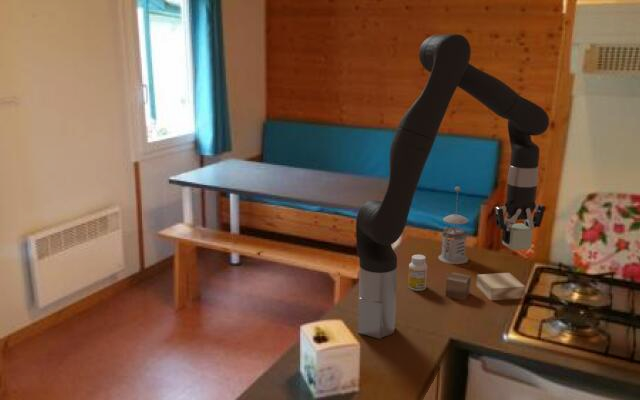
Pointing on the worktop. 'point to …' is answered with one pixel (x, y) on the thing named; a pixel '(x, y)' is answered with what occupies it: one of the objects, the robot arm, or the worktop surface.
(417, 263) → the supplement bottle
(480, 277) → the pine block
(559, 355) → the worktop surface
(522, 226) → the green cube
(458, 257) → the french press
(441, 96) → the robot arm
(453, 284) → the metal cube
